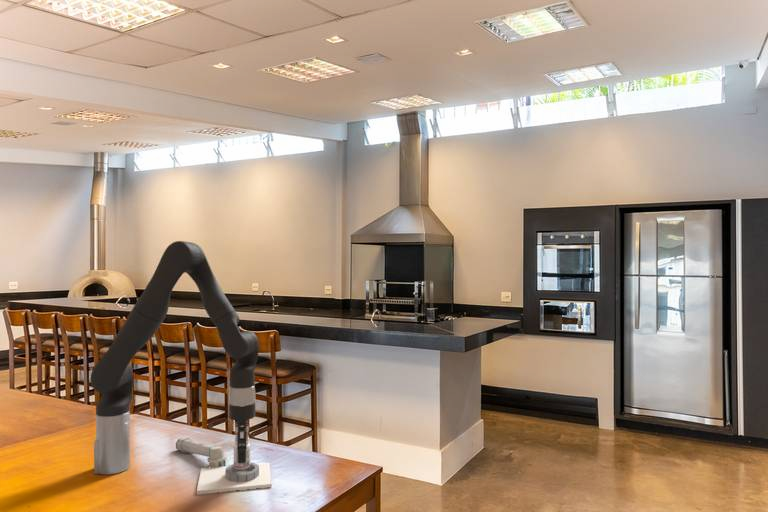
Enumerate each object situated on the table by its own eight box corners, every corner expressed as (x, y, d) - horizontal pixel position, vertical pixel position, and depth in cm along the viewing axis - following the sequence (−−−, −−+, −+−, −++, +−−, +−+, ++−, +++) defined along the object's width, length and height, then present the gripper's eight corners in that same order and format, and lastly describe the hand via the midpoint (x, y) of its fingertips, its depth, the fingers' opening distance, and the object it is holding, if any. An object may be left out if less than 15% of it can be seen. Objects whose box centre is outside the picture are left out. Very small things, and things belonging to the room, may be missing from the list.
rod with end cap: (187, 435, 190) (229, 443, 174) (189, 455, 190) (230, 465, 173) (173, 439, 186) (213, 447, 170) (174, 460, 186) (215, 470, 169)
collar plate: (196, 494, 154) (196, 483, 154) (201, 471, 170) (201, 461, 170) (271, 487, 159) (271, 476, 159) (269, 465, 174) (269, 456, 174)
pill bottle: (235, 463, 167) (235, 435, 167) (251, 463, 167) (251, 434, 167) (232, 469, 162) (232, 440, 162) (249, 469, 163) (249, 440, 162)
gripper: (229, 395, 170) (229, 451, 171) (227, 408, 156) (227, 470, 157) (255, 394, 172) (254, 449, 172) (255, 407, 158) (255, 467, 159)
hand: (241, 459), depth 165 cm, fingers closed on pill bottle, 4 cm apart
